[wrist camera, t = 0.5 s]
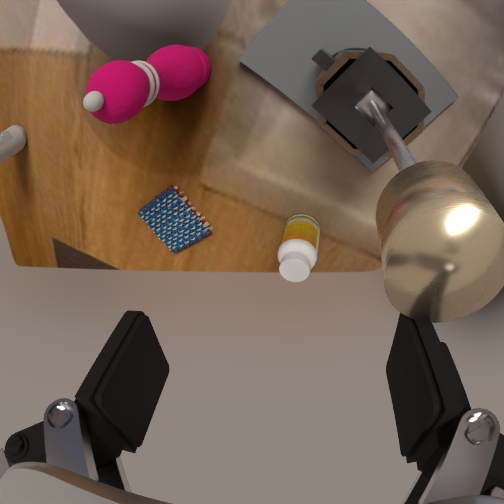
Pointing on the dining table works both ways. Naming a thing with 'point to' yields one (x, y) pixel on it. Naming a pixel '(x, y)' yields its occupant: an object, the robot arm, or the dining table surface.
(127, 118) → the pepper mill
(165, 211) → the woven mat
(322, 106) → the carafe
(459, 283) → the plunger
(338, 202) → the dining table surface
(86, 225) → the dining table surface
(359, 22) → the slate board
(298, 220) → the supplement bottle
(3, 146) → the energy drink can
